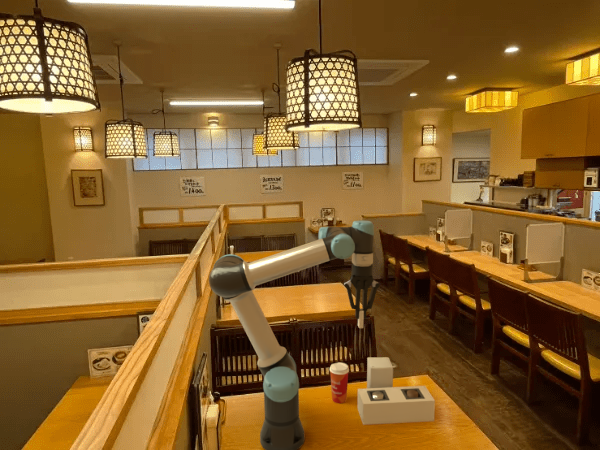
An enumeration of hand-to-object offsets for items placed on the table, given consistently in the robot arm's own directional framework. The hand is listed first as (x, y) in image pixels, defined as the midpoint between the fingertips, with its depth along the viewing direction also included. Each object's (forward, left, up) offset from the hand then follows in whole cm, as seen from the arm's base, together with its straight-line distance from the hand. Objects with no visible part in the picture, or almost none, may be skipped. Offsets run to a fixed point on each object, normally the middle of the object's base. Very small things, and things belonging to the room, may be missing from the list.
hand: (360, 326), depth 151 cm
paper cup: (-6, +8, -34) cm, 35 cm away
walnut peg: (+19, -3, -33) cm, 38 cm away
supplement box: (+10, +9, -34) cm, 36 cm away
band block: (+13, -3, -34) cm, 36 cm away
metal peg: (+6, -3, -33) cm, 34 cm away
